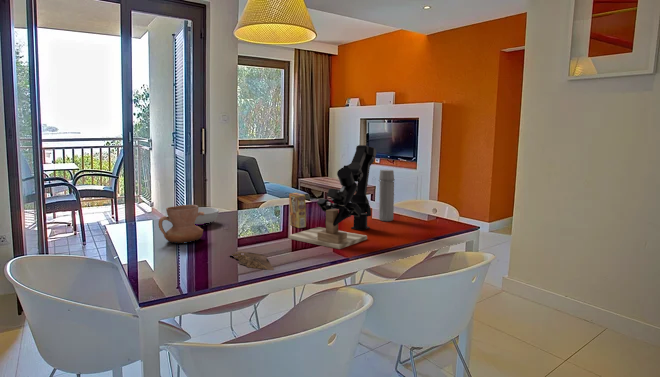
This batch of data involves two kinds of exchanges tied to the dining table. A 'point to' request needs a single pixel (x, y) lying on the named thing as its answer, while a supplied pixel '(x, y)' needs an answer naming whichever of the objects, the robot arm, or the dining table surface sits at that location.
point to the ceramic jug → (182, 224)
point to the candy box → (297, 210)
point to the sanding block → (331, 229)
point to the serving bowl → (206, 215)
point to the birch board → (311, 237)
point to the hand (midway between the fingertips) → (329, 224)
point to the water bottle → (386, 195)
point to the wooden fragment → (253, 260)
